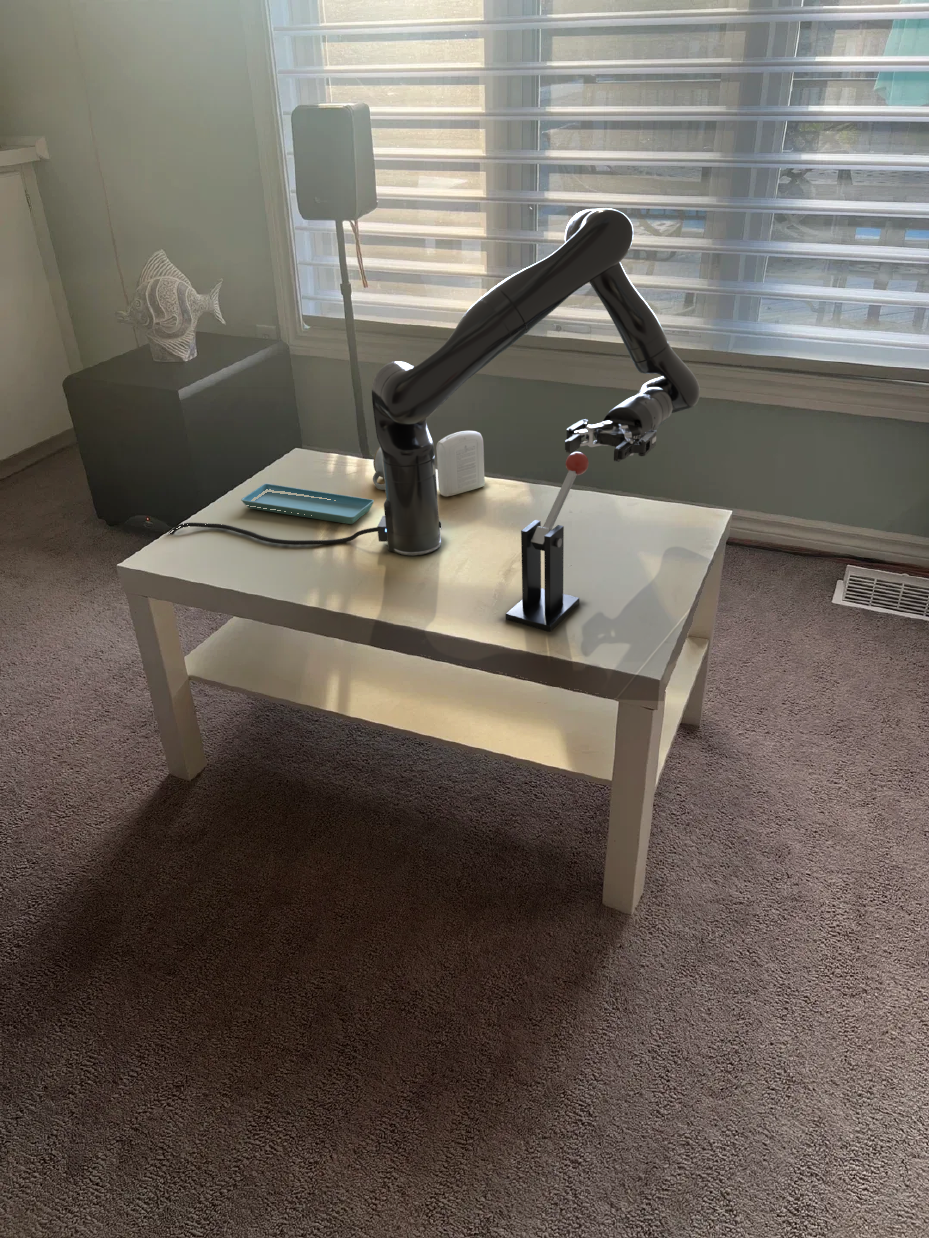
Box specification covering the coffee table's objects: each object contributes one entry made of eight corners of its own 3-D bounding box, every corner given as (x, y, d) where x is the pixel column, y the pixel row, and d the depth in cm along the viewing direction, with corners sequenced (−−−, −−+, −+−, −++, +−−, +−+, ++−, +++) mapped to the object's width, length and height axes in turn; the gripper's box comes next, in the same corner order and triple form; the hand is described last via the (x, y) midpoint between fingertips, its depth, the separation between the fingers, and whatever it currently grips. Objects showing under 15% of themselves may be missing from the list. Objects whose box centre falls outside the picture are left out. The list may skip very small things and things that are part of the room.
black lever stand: (536, 592, 152) (535, 511, 145) (579, 604, 148) (581, 520, 141) (505, 620, 145) (502, 535, 138) (550, 632, 141) (550, 546, 134)
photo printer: (476, 480, 195) (474, 424, 189) (488, 486, 192) (486, 429, 185) (435, 493, 190) (431, 435, 184) (446, 499, 187) (443, 441, 181)
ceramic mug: (391, 470, 202) (387, 437, 198) (423, 475, 199) (420, 441, 195) (364, 488, 195) (360, 454, 190) (396, 494, 191) (392, 459, 187)
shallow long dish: (376, 508, 185) (374, 497, 184) (354, 527, 178) (352, 515, 176) (267, 493, 194) (265, 482, 193) (241, 511, 187) (239, 499, 186)
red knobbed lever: (574, 458, 147) (568, 445, 144) (594, 462, 145) (588, 449, 142) (532, 550, 142) (525, 538, 139) (552, 554, 140) (546, 543, 137)
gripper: (596, 394, 160) (552, 423, 149) (673, 405, 153) (633, 436, 142) (595, 435, 164) (552, 466, 153) (671, 448, 157) (631, 481, 146)
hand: (591, 451), depth 147 cm, fingers open, 8 cm apart
